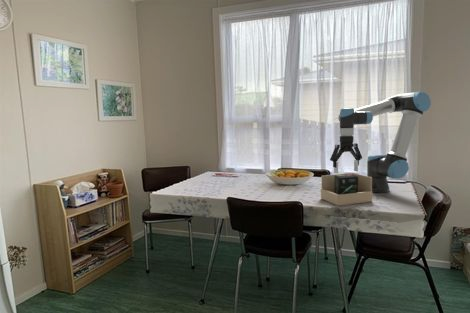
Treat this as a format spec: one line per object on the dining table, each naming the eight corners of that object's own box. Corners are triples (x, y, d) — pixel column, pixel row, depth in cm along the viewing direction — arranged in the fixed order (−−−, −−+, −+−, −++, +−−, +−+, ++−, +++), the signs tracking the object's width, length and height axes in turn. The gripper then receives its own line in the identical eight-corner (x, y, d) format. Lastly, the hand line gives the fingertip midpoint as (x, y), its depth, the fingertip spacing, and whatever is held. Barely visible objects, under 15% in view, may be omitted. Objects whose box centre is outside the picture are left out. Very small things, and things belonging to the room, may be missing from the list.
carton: (352, 195, 206) (352, 172, 205) (372, 201, 190) (372, 177, 188) (320, 198, 200) (320, 175, 198) (338, 206, 183) (338, 181, 181)
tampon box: (352, 197, 200) (352, 173, 198) (358, 201, 191) (358, 176, 189) (334, 198, 199) (334, 174, 198) (339, 202, 190) (339, 177, 188)
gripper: (360, 134, 198) (359, 169, 200) (323, 136, 190) (323, 172, 193) (369, 134, 191) (368, 171, 193) (331, 136, 183) (331, 174, 186)
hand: (346, 172), depth 193 cm, fingers open, 13 cm apart
